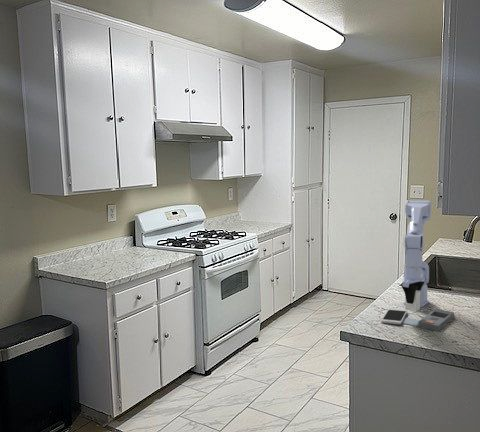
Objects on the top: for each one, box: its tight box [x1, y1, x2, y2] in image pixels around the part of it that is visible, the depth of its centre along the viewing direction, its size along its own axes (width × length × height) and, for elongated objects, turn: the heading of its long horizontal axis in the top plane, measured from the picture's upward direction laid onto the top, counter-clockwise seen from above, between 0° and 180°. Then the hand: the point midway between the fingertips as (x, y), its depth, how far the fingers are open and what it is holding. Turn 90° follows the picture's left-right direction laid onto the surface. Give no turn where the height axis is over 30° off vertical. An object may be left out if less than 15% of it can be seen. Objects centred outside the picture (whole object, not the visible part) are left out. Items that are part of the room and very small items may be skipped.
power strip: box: [418, 308, 455, 332], centre depth 168 cm, size 18×7×2 cm, turn 138°
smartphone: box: [380, 307, 408, 325], centre depth 174 cm, size 7×15×1 cm, turn 151°
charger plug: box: [404, 290, 421, 313], centre depth 168 cm, size 4×4×7 cm
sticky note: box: [401, 317, 421, 327], centre depth 169 cm, size 6×6×1 cm
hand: (412, 301), depth 168 cm, fingers closed on charger plug, 4 cm apart
